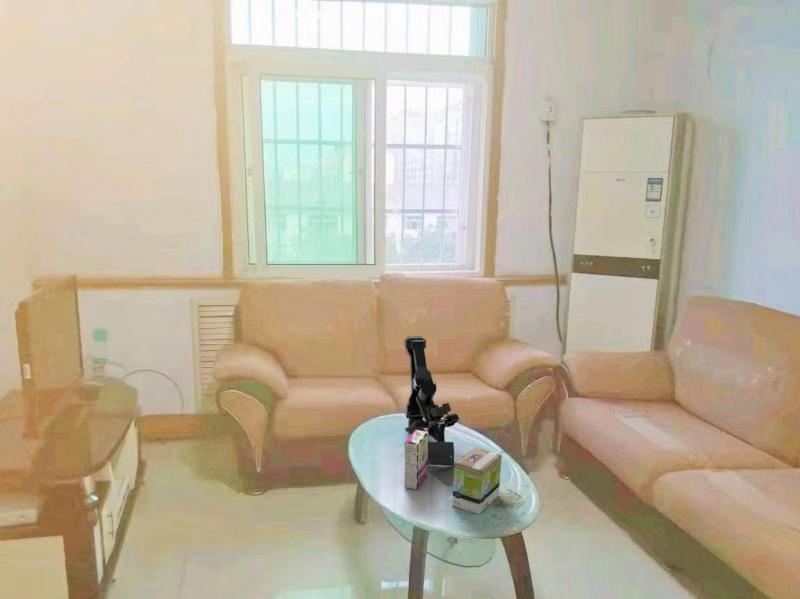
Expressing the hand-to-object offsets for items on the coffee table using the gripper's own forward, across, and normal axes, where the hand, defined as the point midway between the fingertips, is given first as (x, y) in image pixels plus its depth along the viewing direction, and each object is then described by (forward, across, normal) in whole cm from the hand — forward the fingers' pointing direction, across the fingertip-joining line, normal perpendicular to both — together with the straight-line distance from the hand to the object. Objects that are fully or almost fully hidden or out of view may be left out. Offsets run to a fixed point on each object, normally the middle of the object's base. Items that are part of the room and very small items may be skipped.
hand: (443, 445), depth 222 cm
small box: (+2, -1, +4) cm, 5 cm away
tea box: (+24, -6, -14) cm, 28 cm away
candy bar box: (+10, -16, 0) cm, 19 cm away
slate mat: (+11, 0, -1) cm, 11 cm away
